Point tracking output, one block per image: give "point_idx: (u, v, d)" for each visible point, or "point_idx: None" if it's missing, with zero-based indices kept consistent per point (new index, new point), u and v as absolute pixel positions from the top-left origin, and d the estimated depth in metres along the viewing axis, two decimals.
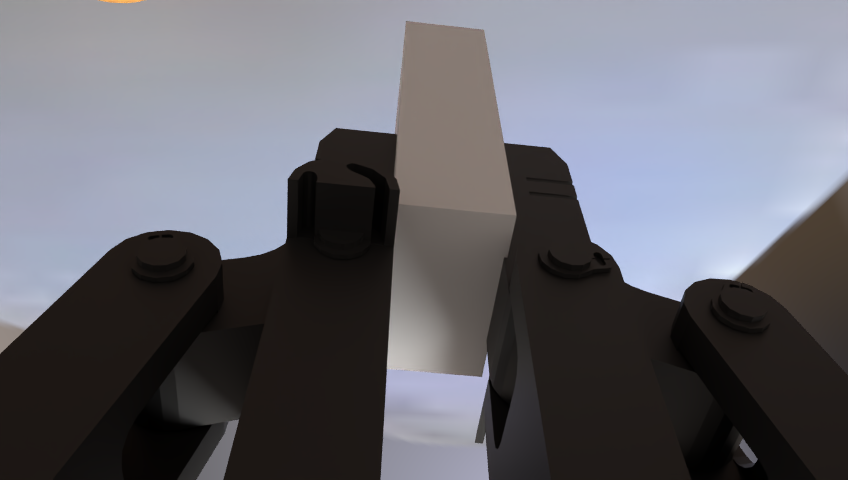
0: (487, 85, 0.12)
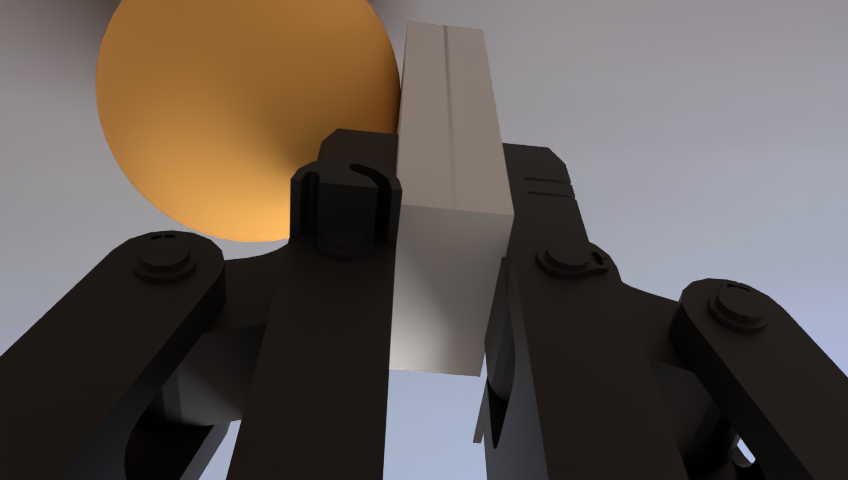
0: (485, 85, 0.12)
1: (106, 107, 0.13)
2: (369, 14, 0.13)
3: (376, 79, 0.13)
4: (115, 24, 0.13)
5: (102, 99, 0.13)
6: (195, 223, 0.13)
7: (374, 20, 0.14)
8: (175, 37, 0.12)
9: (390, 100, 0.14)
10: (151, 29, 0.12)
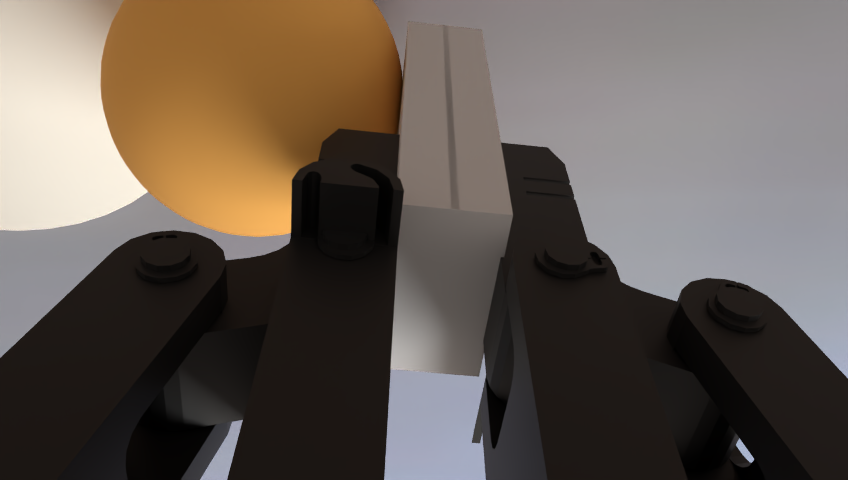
0: (484, 85, 0.12)
1: (102, 88, 0.13)
2: (368, 19, 0.13)
3: (362, 85, 0.13)
4: (119, 9, 0.13)
5: (101, 80, 0.13)
6: (177, 209, 0.14)
7: (374, 26, 0.13)
8: (160, 26, 0.12)
9: (381, 108, 0.13)
10: (142, 16, 0.12)
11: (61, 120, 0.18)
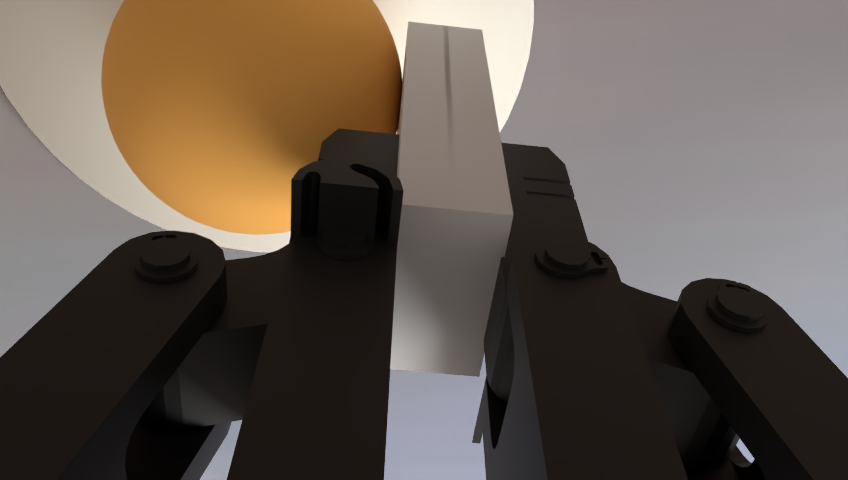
0: (485, 85, 0.12)
1: (102, 85, 0.13)
2: (366, 19, 0.13)
3: (359, 85, 0.13)
4: (120, 7, 0.13)
5: (101, 77, 0.13)
6: (174, 206, 0.14)
7: (372, 25, 0.13)
8: (157, 23, 0.12)
9: (378, 108, 0.13)
10: (141, 13, 0.12)
11: None
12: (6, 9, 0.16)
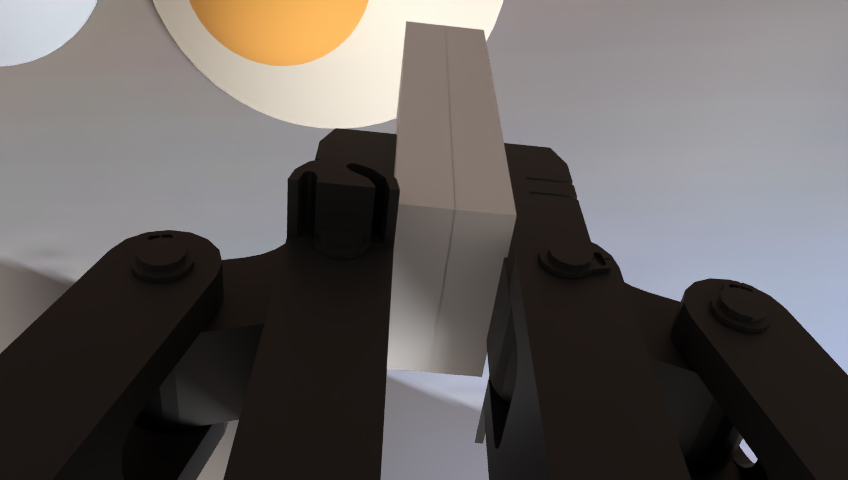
0: (487, 85, 0.12)
1: None
2: None
3: None
4: None
5: None
6: (199, 17, 0.22)
7: None
8: None
9: None
10: None
11: (387, 46, 0.26)
12: None
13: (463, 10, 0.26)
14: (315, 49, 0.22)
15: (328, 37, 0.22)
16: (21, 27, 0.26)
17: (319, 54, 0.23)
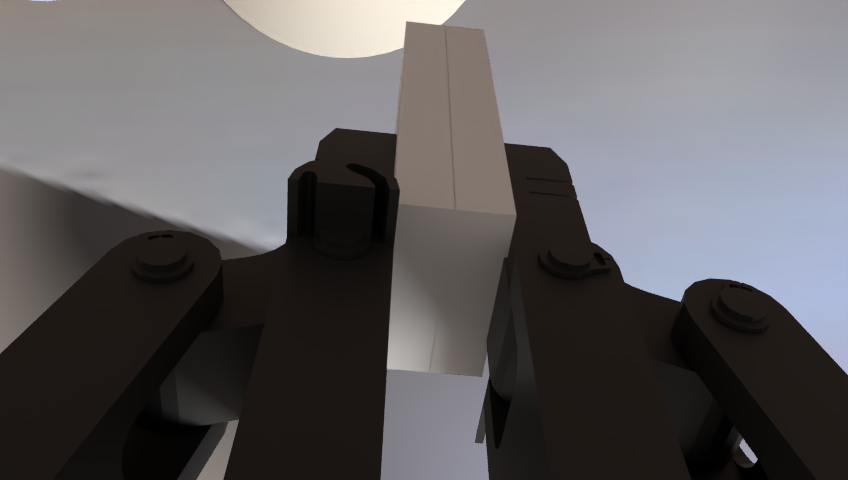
0: (487, 85, 0.12)
1: None
2: None
3: None
4: None
5: None
6: None
7: None
8: None
9: None
10: None
11: None
12: None
13: None
14: None
15: None
16: None
17: None
